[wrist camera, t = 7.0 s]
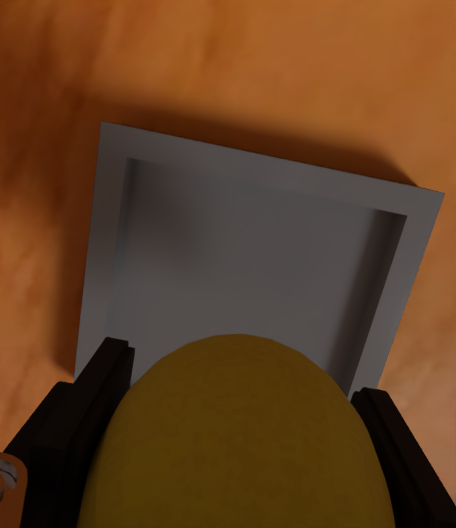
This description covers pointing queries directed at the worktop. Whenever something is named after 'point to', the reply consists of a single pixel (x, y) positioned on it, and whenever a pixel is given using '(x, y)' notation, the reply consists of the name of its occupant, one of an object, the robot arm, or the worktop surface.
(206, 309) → the dish
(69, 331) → the worktop surface
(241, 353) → the lemon
